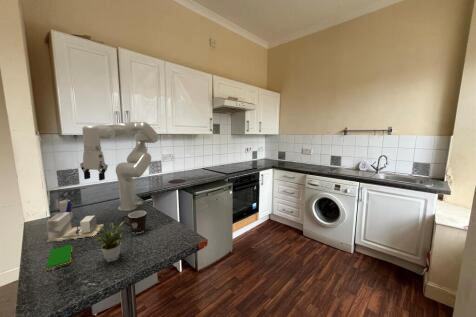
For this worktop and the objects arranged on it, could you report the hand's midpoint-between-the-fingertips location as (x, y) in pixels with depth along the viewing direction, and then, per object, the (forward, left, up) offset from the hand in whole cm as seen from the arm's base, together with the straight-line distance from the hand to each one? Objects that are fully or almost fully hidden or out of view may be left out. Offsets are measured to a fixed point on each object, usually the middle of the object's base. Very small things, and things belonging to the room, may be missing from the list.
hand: (94, 179), depth 112 cm
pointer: (+4, +14, -25) cm, 29 cm away
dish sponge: (+3, +32, -27) cm, 42 cm away
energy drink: (+19, -8, -26) cm, 34 cm away
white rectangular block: (+1, +11, -25) cm, 27 cm away
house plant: (-16, +37, -26) cm, 49 cm away
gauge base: (+6, +10, -26) cm, 29 cm away
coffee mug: (-23, +15, -26) cm, 38 cm away
